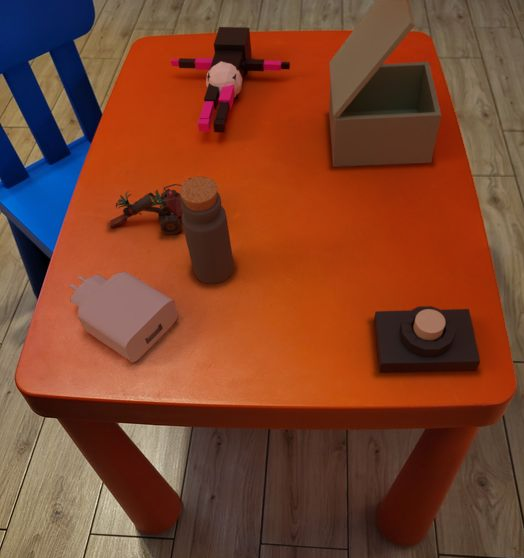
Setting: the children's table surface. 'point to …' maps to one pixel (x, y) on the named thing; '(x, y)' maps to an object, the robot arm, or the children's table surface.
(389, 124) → the chest
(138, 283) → the charger
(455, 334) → the control block
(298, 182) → the children's table surface
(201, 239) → the bottle
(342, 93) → the lid
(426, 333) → the button
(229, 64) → the blocky doll
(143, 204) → the toy vehicle
